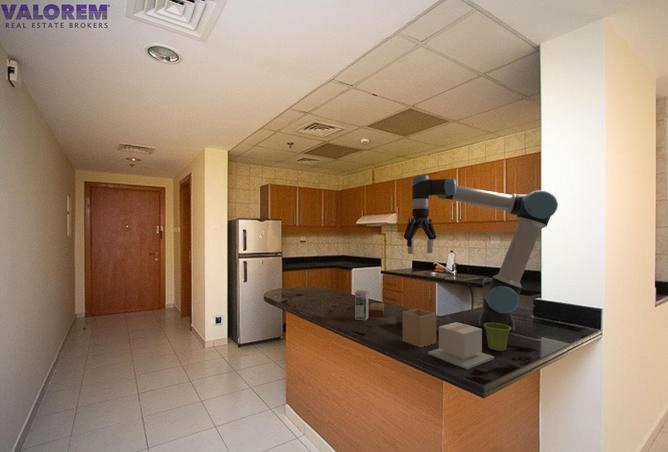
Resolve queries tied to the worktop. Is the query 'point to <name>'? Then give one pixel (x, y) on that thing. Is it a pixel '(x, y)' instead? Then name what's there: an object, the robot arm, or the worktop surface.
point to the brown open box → (419, 327)
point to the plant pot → (497, 335)
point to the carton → (376, 310)
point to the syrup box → (361, 305)
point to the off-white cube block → (460, 340)
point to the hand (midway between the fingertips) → (420, 253)
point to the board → (465, 363)
